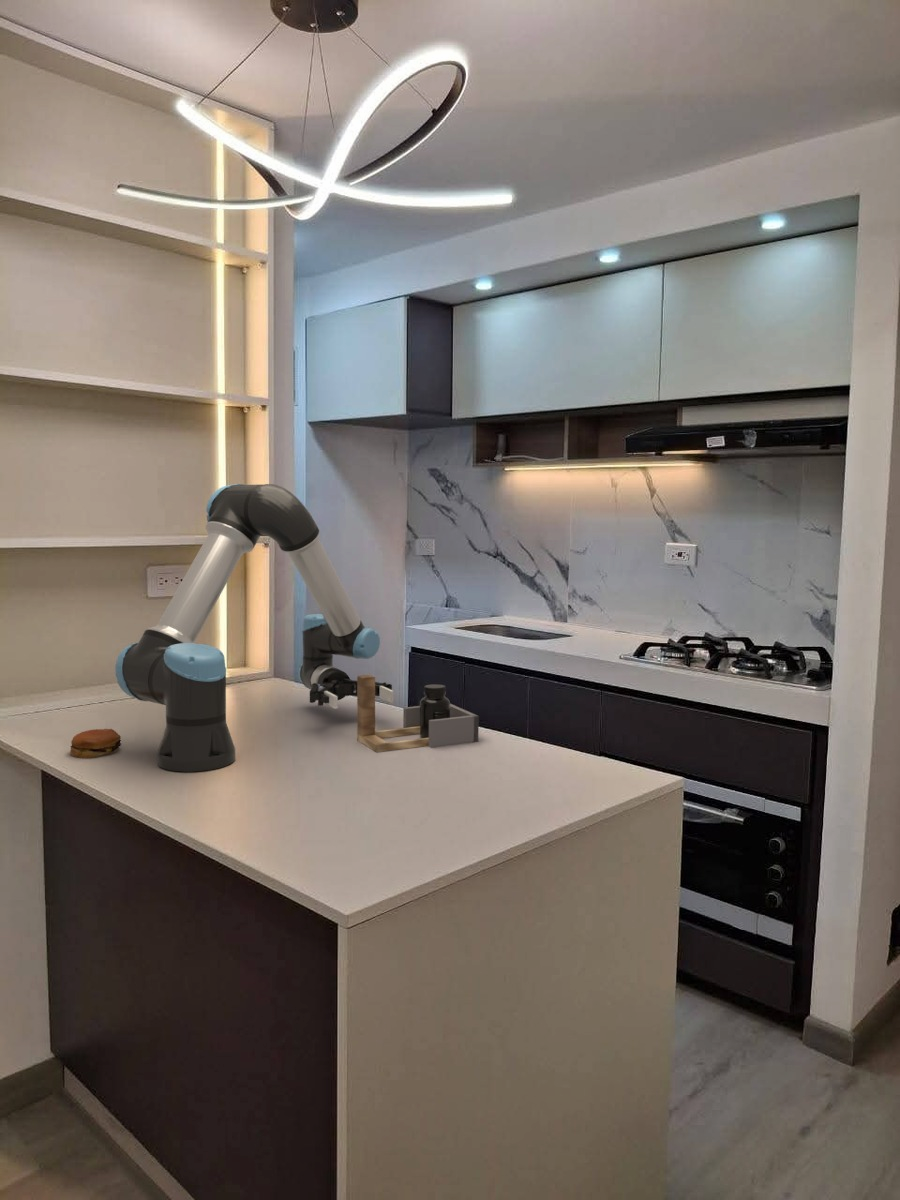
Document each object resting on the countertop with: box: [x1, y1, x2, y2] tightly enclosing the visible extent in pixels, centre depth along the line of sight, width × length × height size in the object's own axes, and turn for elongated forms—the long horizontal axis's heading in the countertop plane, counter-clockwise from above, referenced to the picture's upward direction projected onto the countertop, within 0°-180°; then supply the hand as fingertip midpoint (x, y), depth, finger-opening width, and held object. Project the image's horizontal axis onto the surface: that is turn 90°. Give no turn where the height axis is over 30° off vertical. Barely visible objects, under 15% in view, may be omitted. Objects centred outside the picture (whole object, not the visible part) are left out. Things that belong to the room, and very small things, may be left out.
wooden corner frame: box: [356, 674, 429, 753], centre depth 196 cm, size 22×11×14 cm, turn 118°
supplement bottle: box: [419, 684, 451, 739], centre depth 199 cm, size 7×7×12 cm
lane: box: [402, 703, 480, 749], centre depth 200 cm, size 12×14×6 cm
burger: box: [70, 728, 122, 759], centre depth 185 cm, size 10×9×5 cm
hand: (364, 699), depth 198 cm, fingers open, 13 cm apart
